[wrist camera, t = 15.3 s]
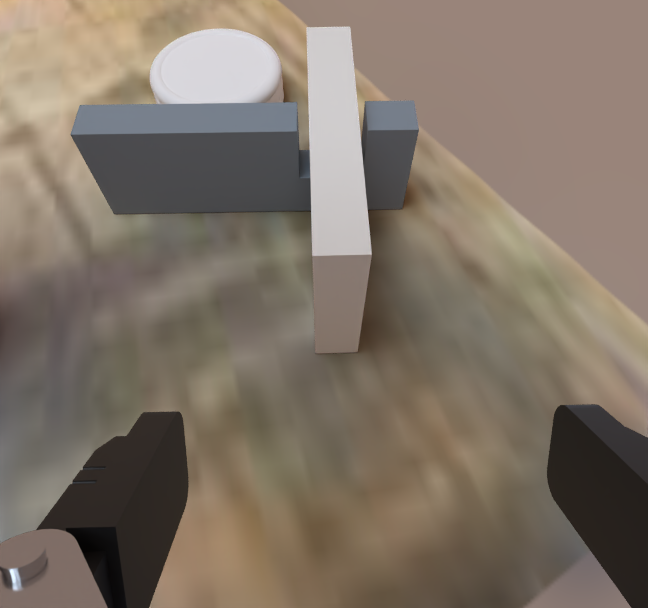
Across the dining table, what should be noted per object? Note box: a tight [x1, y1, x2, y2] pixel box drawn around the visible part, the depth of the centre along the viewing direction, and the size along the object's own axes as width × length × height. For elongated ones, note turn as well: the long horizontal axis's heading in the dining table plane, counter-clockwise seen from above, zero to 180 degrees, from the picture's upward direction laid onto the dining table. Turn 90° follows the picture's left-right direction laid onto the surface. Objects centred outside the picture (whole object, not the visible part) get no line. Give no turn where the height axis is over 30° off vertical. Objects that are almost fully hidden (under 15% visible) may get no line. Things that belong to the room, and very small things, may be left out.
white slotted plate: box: [307, 27, 372, 353], centre depth 30 cm, size 16×2×10 cm, turn 2°
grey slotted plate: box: [71, 101, 419, 214], centre depth 33 cm, size 20×2×7 cm, turn 91°
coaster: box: [150, 29, 284, 104], centre depth 40 cm, size 10×10×4 cm
